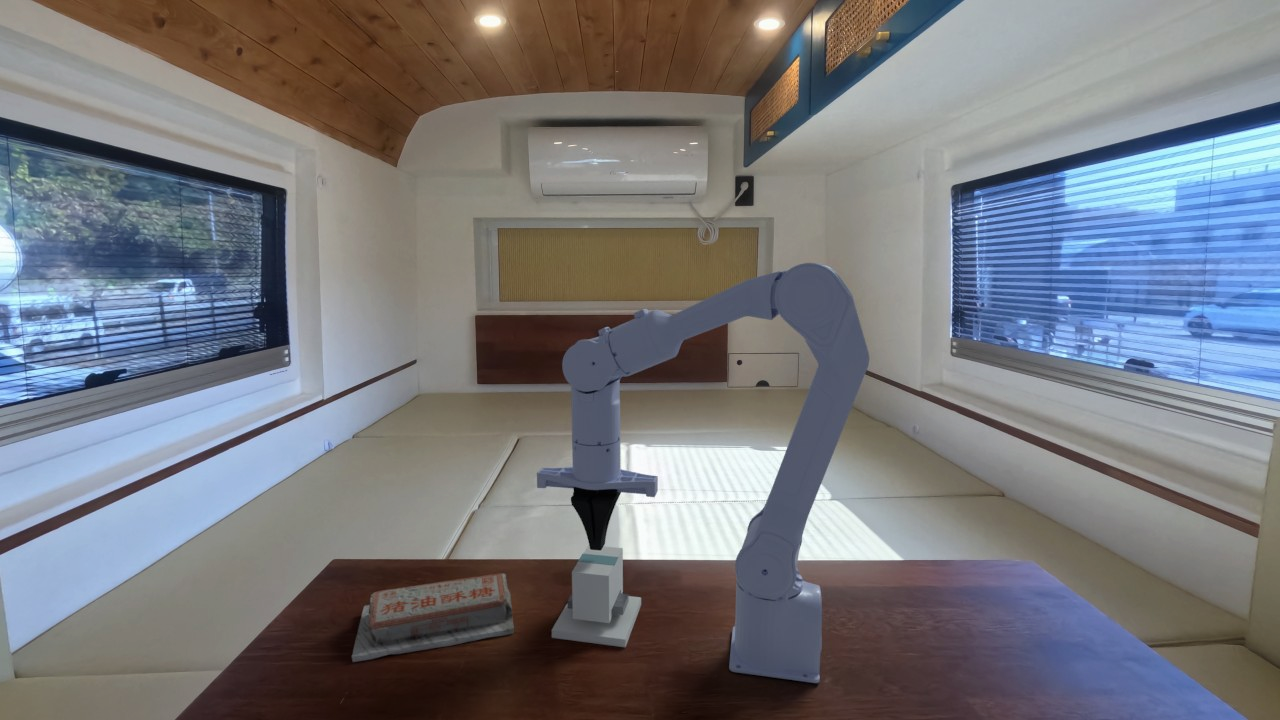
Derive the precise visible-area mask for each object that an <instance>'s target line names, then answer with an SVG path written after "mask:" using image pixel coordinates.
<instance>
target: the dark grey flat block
mask: <svg viewBox="0 0 1280 720" xmlns="http://www.w3.org/2000/svg"><path fill="white" fill-rule="evenodd" d="M629 596H630V595H629V594H628V593H623V592H622V593H619V594H618V597H617V599H616V601H615V603H614V606H613V608H612V610H611V614H618V615H623V614H624V611H625V609H626V607H627V604H628V602H629ZM567 603H568V608H569V609H573V604H572V593H571V594H570V596H569V597H568V600H567V602H566V604H567Z"/></svg>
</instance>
